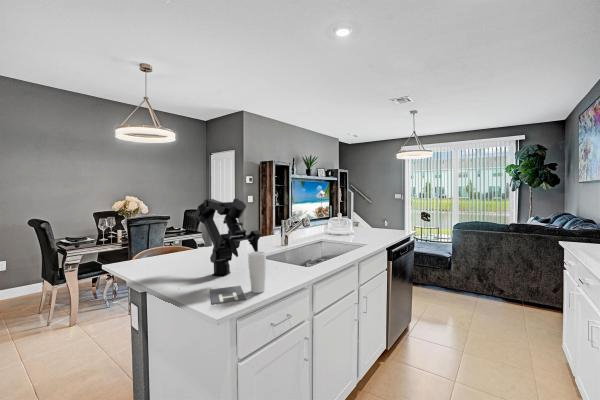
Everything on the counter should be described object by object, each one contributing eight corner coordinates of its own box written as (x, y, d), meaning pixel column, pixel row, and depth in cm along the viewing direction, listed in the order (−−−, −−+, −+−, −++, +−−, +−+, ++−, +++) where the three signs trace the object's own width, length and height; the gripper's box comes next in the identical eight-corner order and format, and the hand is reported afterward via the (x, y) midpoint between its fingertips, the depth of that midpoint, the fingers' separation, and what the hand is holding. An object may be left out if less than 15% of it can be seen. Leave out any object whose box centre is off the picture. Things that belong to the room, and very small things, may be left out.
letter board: (210, 290, 118) (210, 289, 118) (240, 286, 122) (240, 285, 122) (211, 304, 103) (211, 303, 103) (246, 299, 107) (246, 298, 107)
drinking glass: (249, 288, 118) (249, 251, 118) (266, 288, 119) (266, 251, 118) (248, 294, 112) (247, 255, 111) (266, 293, 112) (265, 254, 112)
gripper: (245, 234, 139) (258, 262, 131) (208, 238, 127) (220, 269, 119) (255, 219, 133) (269, 247, 125) (216, 222, 121) (229, 253, 113)
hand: (247, 254), depth 121 cm, fingers open, 9 cm apart
